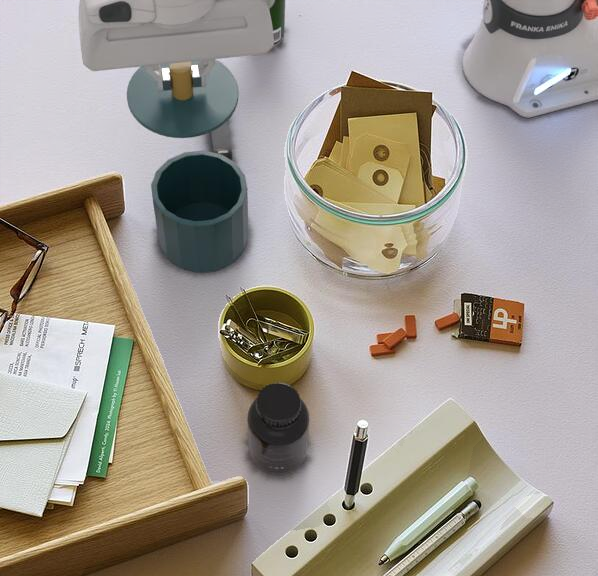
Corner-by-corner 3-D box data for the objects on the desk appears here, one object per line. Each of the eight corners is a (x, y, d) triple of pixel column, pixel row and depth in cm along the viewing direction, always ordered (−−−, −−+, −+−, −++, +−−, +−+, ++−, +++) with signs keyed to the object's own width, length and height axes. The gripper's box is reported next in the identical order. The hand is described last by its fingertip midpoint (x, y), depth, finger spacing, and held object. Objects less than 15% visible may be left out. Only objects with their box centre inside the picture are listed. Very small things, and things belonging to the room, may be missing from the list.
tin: (154, 205, 136) (147, 155, 128) (241, 196, 138) (240, 146, 129) (163, 277, 132) (156, 230, 123) (253, 267, 133) (252, 220, 124)
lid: (122, 64, 120) (117, 29, 115) (230, 53, 121) (229, 18, 116) (133, 147, 114) (127, 114, 110) (246, 135, 115) (245, 102, 111)
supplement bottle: (249, 422, 123) (248, 371, 112) (308, 424, 123) (312, 373, 112) (246, 475, 120) (245, 428, 109) (306, 478, 120) (310, 431, 109)
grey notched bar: (201, 76, 147) (200, 59, 144) (220, 74, 147) (219, 58, 144) (214, 175, 139) (213, 160, 136) (233, 174, 139) (233, 159, 137)
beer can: (291, 39, 151) (294, -32, 140) (262, 55, 149) (262, -15, 138) (268, 17, 152) (269, -54, 142) (239, 33, 151) (237, -37, 140)
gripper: (271, -51, 106) (270, 54, 118) (66, -33, 103) (87, 72, 116) (281, -8, 103) (279, 96, 115) (71, 12, 101) (92, 115, 113)
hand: (181, 84), depth 115 cm, fingers closed on lid, 2 cm apart
